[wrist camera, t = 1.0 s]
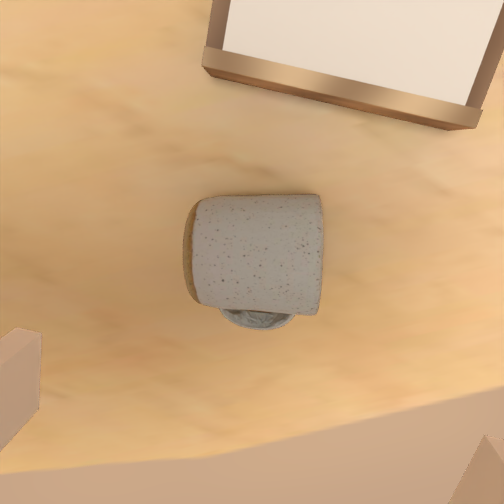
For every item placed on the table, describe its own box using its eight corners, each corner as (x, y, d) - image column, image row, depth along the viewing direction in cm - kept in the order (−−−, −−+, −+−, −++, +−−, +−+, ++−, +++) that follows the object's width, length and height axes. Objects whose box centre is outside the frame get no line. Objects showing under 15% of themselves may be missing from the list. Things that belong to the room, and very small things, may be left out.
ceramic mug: (200, 188, 25) (170, 209, 18) (315, 186, 25) (331, 206, 17) (210, 319, 29) (188, 382, 21) (312, 320, 28) (325, 384, 21)
